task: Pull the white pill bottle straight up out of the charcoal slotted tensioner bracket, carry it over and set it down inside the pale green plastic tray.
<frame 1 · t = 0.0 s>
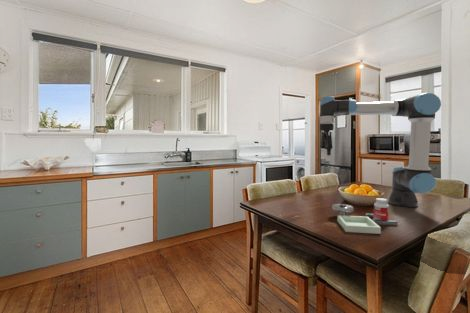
hand: (325, 160, 139), 28 cm above the table, fingers open, 13 cm apart
pulley: (342, 217, 122), on the table
tensioner bracket: (380, 220, 117), on the table
pill bottle: (380, 221, 117), resting in tensioner bracket
tray: (357, 226, 109), on the table
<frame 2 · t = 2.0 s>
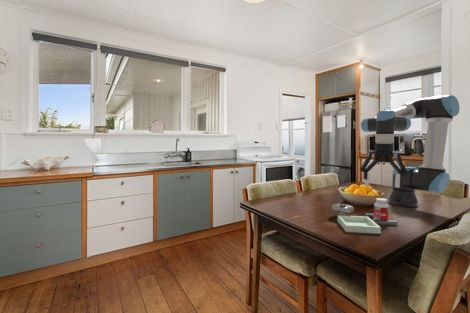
hand: (381, 186, 115), 17 cm above the table, fingers open, 13 cm apart
nothing on the table moved.
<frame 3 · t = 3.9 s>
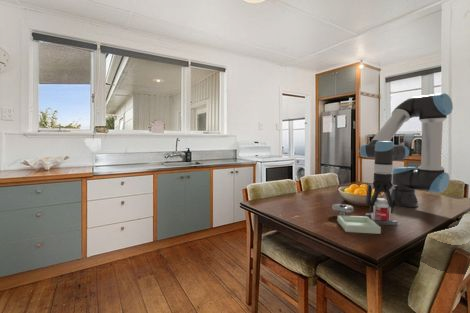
hand: (380, 219, 117), 1 cm above the table, fingers closed on pill bottle, 6 cm apart
pill bottle: (380, 221, 117), resting in tensioner bracket, touching gripper
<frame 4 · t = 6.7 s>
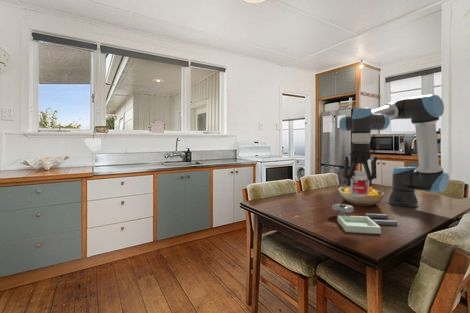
hand: (358, 193, 108), 16 cm above the table, fingers closed on pill bottle, 6 cm apart
pill bottle: (358, 195, 108), point 15 cm above the table, touching gripper
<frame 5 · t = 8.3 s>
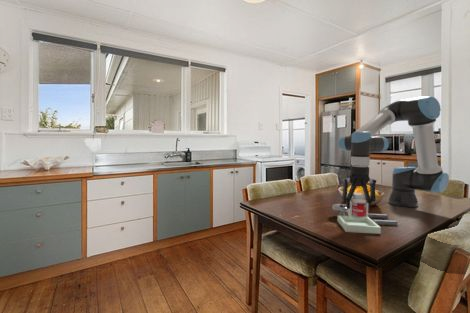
hand: (357, 215, 109), 5 cm above the table, fingers closed on pill bottle, 6 cm apart
pill bottle: (357, 218, 109), point 4 cm above the table, touching gripper
when the fingers open (4 cm above the table, at t = 9.4 s): pill bottle drops 2 cm, resting on tray.
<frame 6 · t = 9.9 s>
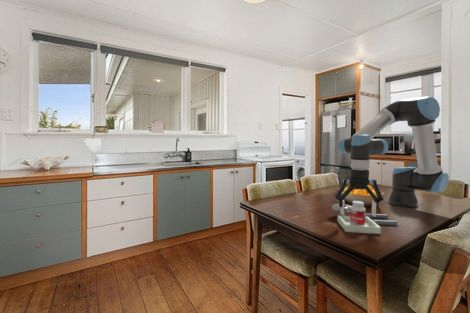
hand: (357, 214, 109), 6 cm above the table, fingers open, 13 cm apart
pill bottle: (357, 225, 109), resting on tray
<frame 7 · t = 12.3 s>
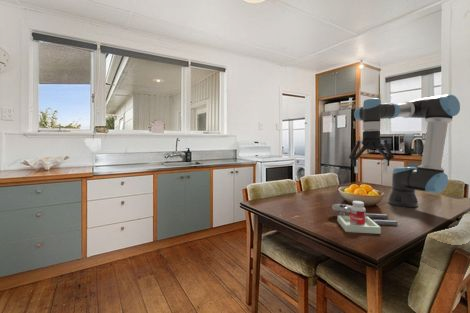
hand: (370, 172, 119), 23 cm above the table, fingers open, 13 cm apart
nothing on the table moved.
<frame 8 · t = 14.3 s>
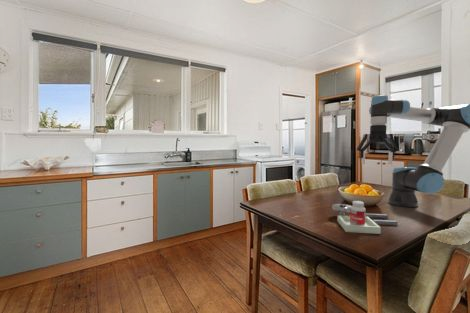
hand: (376, 164, 129), 27 cm above the table, fingers open, 13 cm apart
nothing on the table moved.
at the end: pill bottle inside the target area on the tray (0.0 cm from its centre), point 0.4 cm above the tray's base; the gripper is holding nothing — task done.
